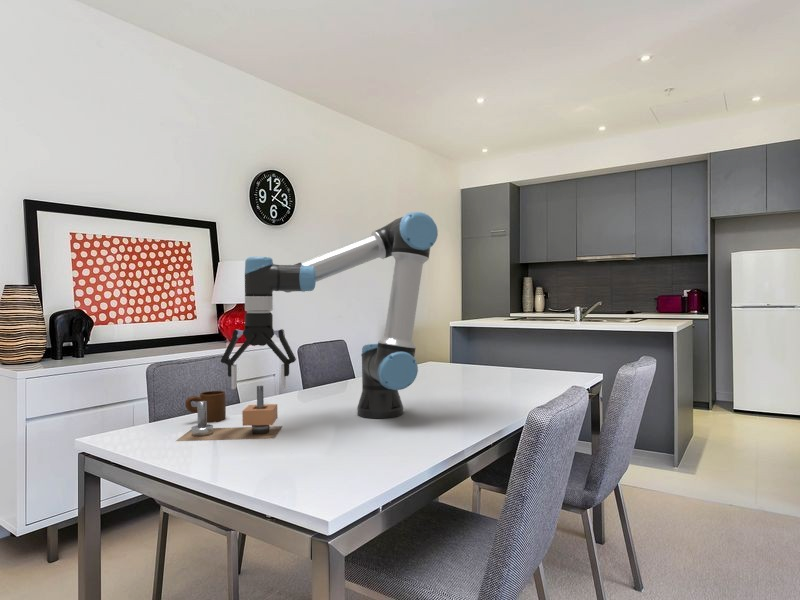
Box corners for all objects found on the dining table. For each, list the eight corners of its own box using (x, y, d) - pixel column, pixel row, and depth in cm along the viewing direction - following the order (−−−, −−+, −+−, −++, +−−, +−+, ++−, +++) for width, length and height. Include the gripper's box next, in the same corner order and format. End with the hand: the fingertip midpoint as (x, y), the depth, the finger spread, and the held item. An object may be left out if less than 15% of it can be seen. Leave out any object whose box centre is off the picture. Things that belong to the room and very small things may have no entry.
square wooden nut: (277, 418, 150) (277, 404, 150) (272, 424, 142) (272, 410, 142) (249, 418, 149) (249, 404, 149) (242, 425, 141) (242, 410, 141)
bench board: (282, 429, 152) (282, 426, 152) (274, 441, 139) (274, 438, 139) (192, 432, 151) (192, 428, 151) (175, 444, 138) (175, 441, 138)
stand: (271, 429, 148) (270, 384, 148) (267, 434, 143) (267, 387, 143) (253, 430, 148) (253, 384, 148) (250, 434, 143) (249, 387, 143)
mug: (190, 429, 154) (189, 398, 154) (181, 425, 159) (181, 394, 159) (229, 423, 161) (229, 392, 161) (220, 418, 167) (219, 389, 167)
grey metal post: (215, 431, 148) (215, 399, 148) (209, 436, 142) (209, 403, 142) (195, 431, 147) (195, 400, 147) (188, 437, 142) (188, 404, 142)
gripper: (305, 311, 150) (305, 385, 150) (217, 312, 148) (217, 386, 148) (302, 312, 142) (302, 390, 142) (209, 312, 141) (209, 390, 141)
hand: (258, 388), depth 145 cm, fingers open, 13 cm apart
